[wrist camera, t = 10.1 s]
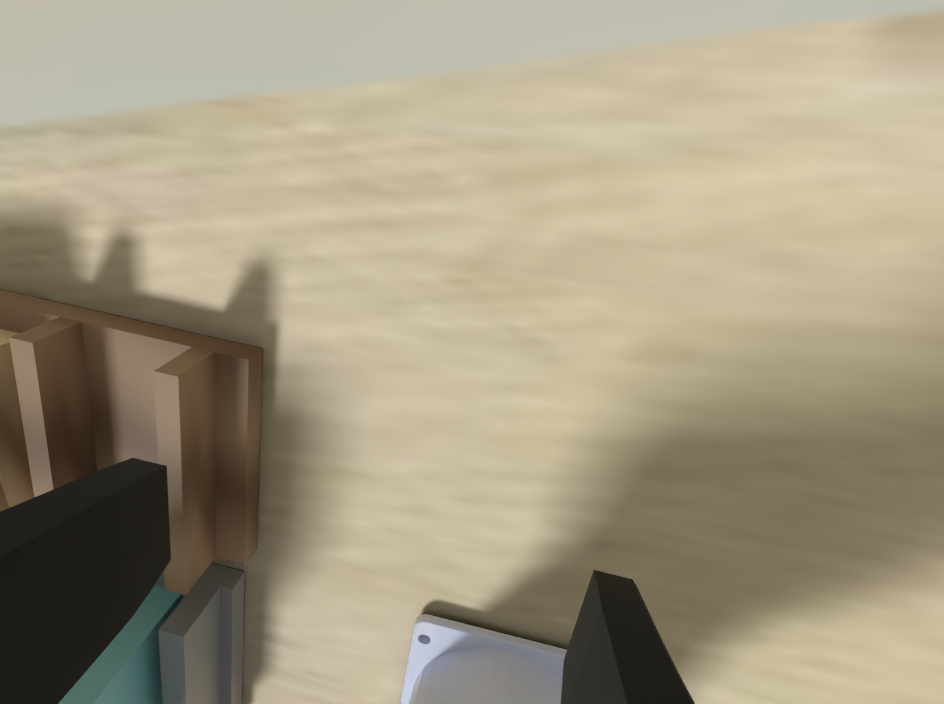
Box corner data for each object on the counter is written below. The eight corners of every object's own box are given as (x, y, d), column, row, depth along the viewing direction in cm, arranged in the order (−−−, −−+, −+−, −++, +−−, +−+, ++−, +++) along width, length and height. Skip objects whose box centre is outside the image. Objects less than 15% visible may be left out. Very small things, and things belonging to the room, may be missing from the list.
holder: (242, 712, 28) (200, 789, 25) (106, 675, 29) (49, 746, 26) (244, 571, 25) (196, 640, 22) (90, 532, 25) (20, 593, 22)
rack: (256, 547, 24) (216, 603, 21) (-33, 474, 25) (-107, 519, 22) (262, 348, 21) (215, 385, 18) (-76, 272, 21) (-171, 296, 19)
